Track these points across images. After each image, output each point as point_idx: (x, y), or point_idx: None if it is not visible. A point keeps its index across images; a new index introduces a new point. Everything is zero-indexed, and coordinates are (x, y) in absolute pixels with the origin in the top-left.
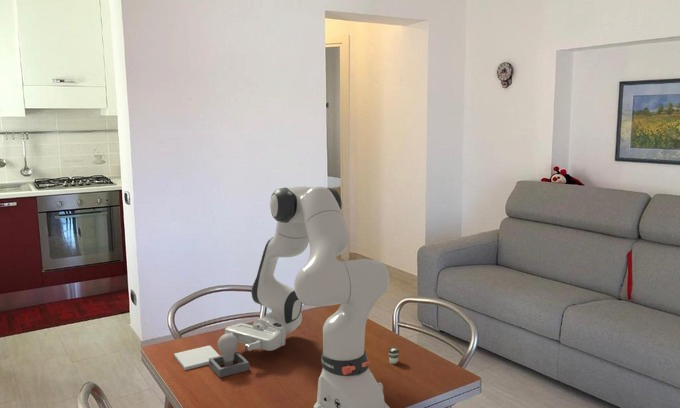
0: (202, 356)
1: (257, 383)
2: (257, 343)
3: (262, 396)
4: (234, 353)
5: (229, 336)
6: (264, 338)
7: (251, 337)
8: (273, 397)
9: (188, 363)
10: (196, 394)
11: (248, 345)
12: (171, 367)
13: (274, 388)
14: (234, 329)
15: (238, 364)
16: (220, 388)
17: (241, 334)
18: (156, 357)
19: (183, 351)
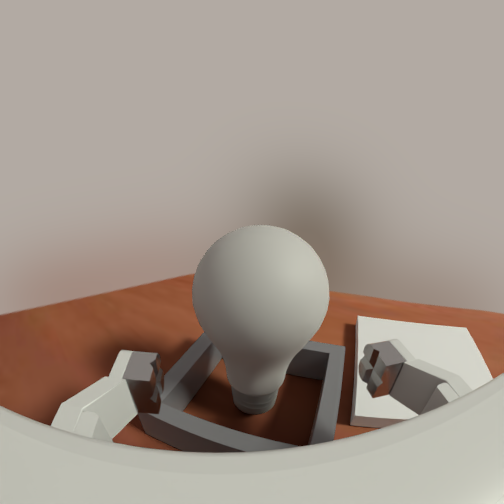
0: None
1: (63, 362)
2: (74, 403)
3: (36, 321)
4: (314, 442)
5: (234, 231)
6: (7, 422)
7: (192, 453)
8: (12, 324)
9: (379, 328)
10: None
11: (127, 351)
12: (394, 315)
13: (11, 352)
14: (501, 403)
15: (173, 373)
16: (162, 316)
17: (373, 432)
18: (466, 315)
19: (475, 344)
